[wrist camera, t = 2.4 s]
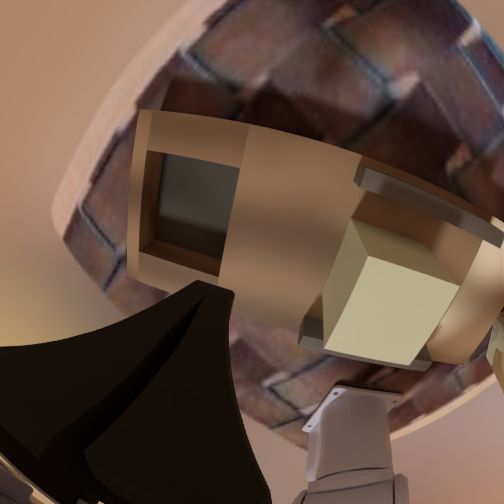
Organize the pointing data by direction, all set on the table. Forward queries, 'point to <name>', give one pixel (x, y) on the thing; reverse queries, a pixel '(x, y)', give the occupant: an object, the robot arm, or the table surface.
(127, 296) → the table surface
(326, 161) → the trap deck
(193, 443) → the robot arm
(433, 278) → the sage block
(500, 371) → the skincare box
